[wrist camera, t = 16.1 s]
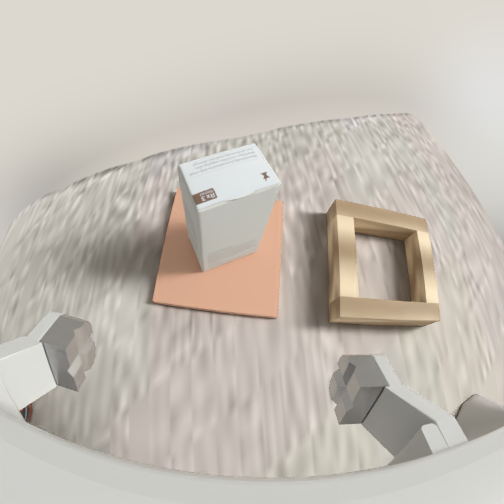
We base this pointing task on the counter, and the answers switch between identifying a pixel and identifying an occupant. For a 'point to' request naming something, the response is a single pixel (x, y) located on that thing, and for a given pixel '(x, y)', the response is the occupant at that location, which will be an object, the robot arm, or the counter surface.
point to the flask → (480, 417)
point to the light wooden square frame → (346, 276)
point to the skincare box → (227, 203)
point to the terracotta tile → (220, 272)
